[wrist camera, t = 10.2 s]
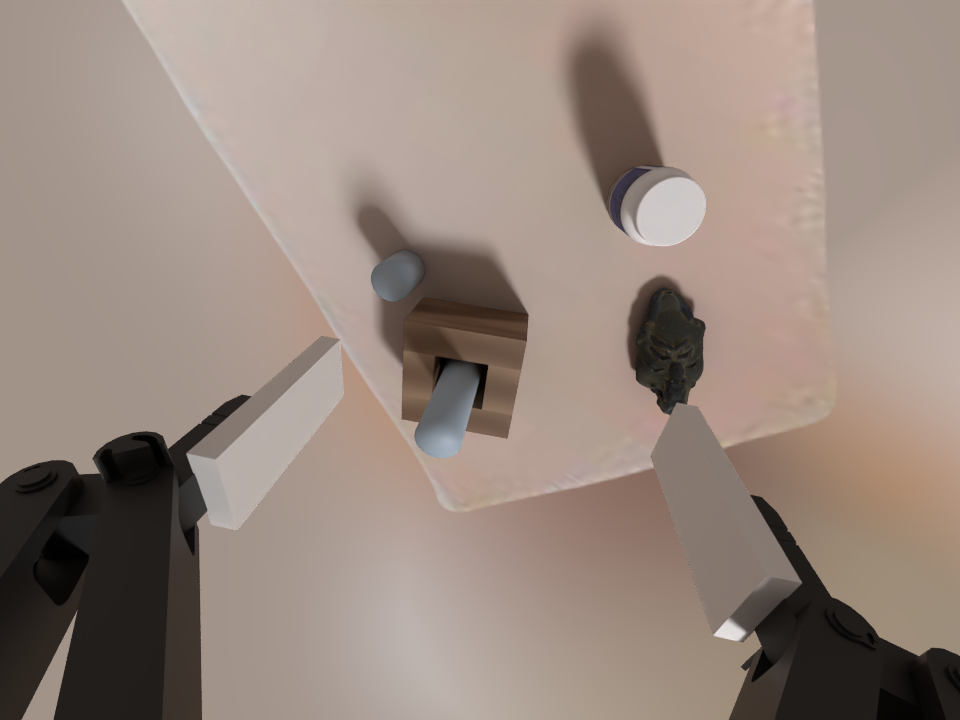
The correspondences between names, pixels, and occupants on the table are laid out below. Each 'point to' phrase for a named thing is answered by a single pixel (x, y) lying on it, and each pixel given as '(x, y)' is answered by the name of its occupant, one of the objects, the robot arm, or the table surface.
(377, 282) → the grey rounded cylinder
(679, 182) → the pill bottle
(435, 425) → the long dowel
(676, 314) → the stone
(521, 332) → the sleeve block
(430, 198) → the table surface
